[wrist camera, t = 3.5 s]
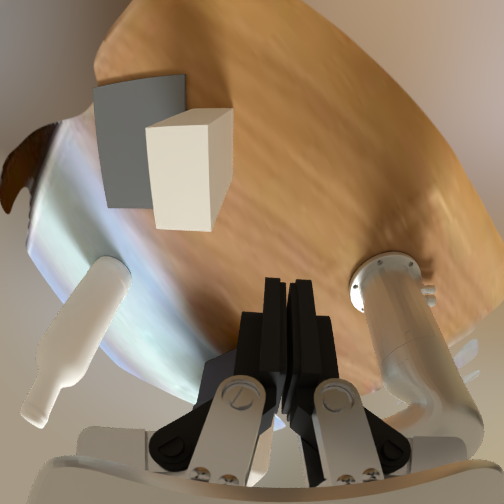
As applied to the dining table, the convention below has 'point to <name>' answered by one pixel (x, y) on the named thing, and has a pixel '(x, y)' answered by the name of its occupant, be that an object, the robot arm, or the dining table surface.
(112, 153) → the mat
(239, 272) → the dining table surface
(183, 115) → the flip block
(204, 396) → the dark grey box
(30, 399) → the bottle
